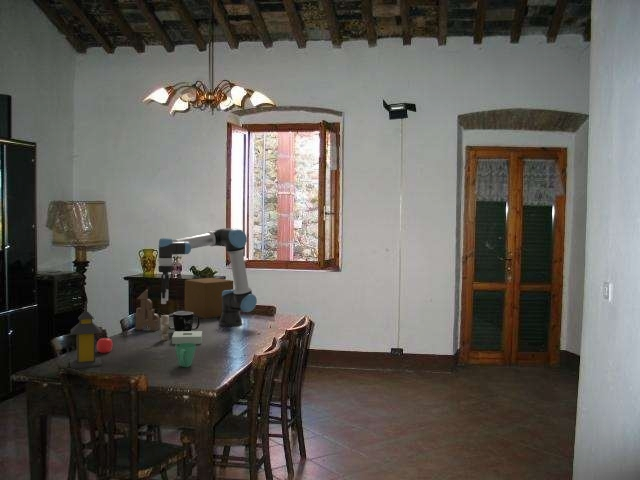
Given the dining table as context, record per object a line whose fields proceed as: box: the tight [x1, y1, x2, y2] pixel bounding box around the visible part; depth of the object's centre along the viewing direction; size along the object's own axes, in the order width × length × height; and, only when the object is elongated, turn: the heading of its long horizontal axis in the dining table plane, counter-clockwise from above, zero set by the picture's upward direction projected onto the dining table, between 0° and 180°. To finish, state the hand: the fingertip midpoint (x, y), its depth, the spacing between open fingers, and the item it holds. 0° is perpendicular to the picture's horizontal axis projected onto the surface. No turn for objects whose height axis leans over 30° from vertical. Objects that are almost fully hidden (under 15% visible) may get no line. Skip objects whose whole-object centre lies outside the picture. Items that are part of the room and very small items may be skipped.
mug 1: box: [169, 311, 201, 331], centre depth 369 cm, size 16×16×12 cm
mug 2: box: [174, 343, 197, 368], centre depth 287 cm, size 15×10×10 cm
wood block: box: [184, 277, 234, 320], centre depth 435 cm, size 25×25×25 cm
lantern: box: [69, 301, 103, 369], centre depth 289 cm, size 14×14×30 cm
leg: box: [160, 314, 170, 341], centre depth 347 cm, size 4×4×14 cm
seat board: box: [171, 330, 203, 345], centre depth 345 cm, size 16×16×4 cm
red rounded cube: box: [96, 336, 114, 354], centre depth 315 cm, size 8×8×8 cm
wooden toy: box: [134, 289, 161, 332], centre depth 377 cm, size 15×7×25 cm, turn 81°
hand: (164, 302), depth 346 cm, fingers open, 13 cm apart
